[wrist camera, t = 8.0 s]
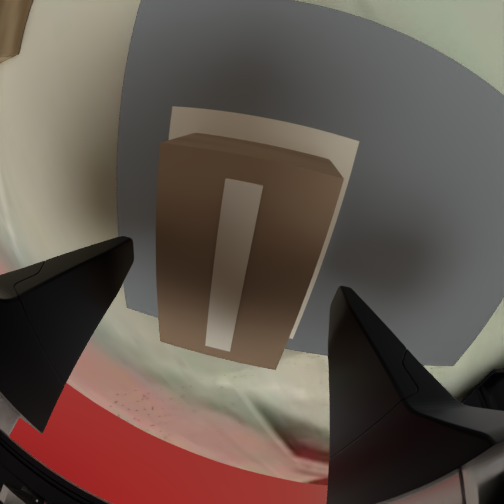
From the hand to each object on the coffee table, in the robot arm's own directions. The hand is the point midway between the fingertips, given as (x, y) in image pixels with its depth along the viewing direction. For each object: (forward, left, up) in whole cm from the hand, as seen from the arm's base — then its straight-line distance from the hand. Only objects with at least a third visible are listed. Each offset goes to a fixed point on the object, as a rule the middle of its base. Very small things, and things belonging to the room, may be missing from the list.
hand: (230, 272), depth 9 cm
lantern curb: (+29, -20, -3) cm, 35 cm away
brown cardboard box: (0, 0, -2) cm, 2 cm away
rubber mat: (-5, -2, -3) cm, 6 cm away
